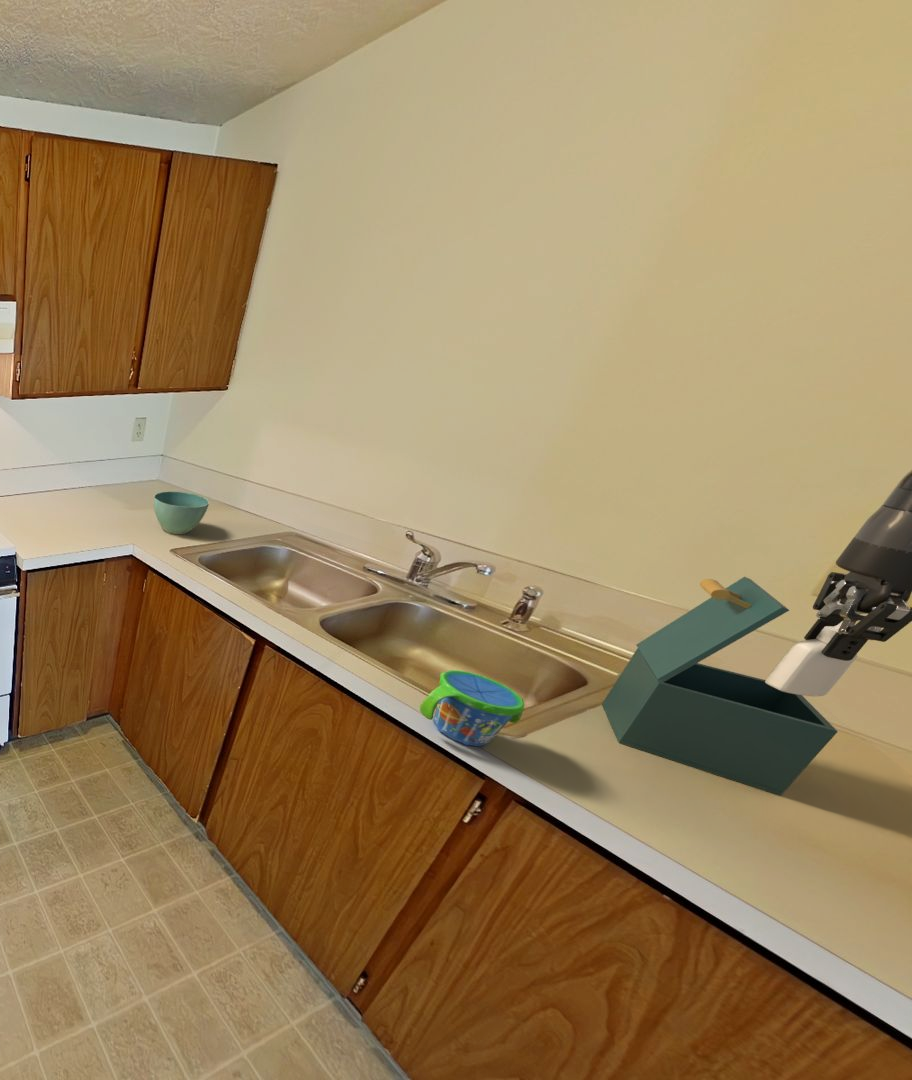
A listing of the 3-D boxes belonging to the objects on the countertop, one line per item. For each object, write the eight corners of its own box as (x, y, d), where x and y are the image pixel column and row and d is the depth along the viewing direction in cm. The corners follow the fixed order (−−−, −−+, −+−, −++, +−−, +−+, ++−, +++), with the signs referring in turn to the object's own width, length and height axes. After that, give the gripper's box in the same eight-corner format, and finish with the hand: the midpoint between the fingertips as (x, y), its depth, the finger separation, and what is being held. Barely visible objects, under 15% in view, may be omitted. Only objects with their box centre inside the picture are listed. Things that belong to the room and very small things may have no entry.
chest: (745, 747, 89) (794, 687, 84) (780, 796, 80) (838, 731, 75) (601, 704, 99) (637, 648, 94) (618, 742, 90) (658, 682, 85)
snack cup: (483, 717, 96) (506, 673, 92) (533, 760, 86) (561, 713, 82) (393, 708, 98) (411, 665, 94) (431, 749, 88) (454, 703, 84)
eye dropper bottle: (755, 675, 80) (804, 609, 75) (818, 690, 76) (873, 622, 72) (768, 688, 77) (820, 621, 72) (835, 705, 73) (894, 635, 69)
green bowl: (184, 543, 173) (190, 510, 168) (138, 528, 187) (143, 496, 182) (212, 532, 183) (219, 500, 178) (167, 518, 197) (172, 488, 192)
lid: (751, 579, 84) (709, 561, 86) (789, 610, 74) (741, 589, 77) (641, 647, 94) (606, 630, 96) (663, 682, 84) (624, 662, 87)
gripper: (1009, 569, 60) (905, 684, 67) (927, 535, 70) (844, 639, 77) (891, 552, 65) (804, 662, 71) (829, 523, 75) (759, 621, 81)
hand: (825, 649), depth 74 cm, fingers closed on eye dropper bottle, 4 cm apart
